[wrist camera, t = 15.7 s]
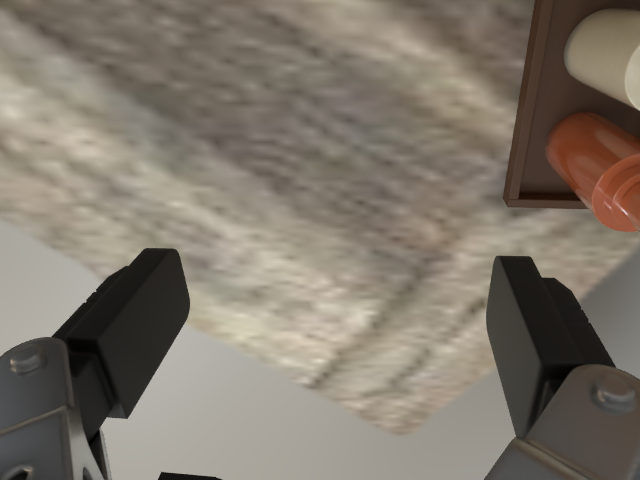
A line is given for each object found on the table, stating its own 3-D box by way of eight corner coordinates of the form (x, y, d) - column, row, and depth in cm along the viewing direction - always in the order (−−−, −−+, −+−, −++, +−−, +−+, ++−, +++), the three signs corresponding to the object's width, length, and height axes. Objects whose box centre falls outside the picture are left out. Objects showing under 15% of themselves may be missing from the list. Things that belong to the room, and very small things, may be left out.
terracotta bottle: (550, 111, 38) (643, 182, 24) (622, 111, 37) (761, 184, 23) (538, 174, 40) (615, 271, 26) (605, 175, 40) (721, 276, 26)
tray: (561, -161, 30) (571, -170, 29) (741, -176, 29) (763, -187, 27) (502, 198, 42) (507, 207, 41) (627, 201, 41) (638, 210, 39)
